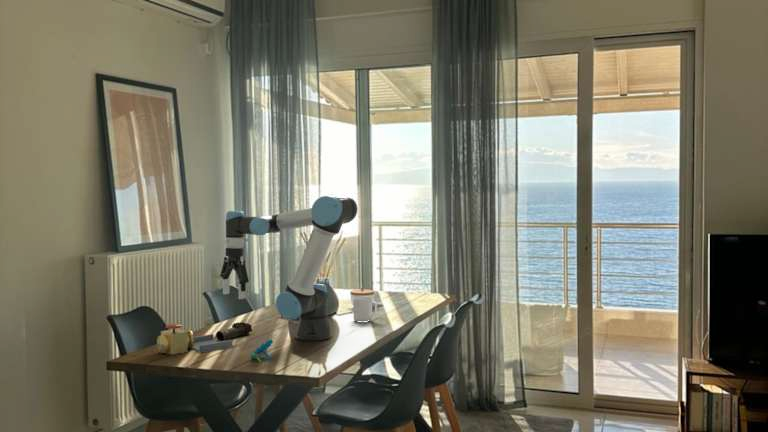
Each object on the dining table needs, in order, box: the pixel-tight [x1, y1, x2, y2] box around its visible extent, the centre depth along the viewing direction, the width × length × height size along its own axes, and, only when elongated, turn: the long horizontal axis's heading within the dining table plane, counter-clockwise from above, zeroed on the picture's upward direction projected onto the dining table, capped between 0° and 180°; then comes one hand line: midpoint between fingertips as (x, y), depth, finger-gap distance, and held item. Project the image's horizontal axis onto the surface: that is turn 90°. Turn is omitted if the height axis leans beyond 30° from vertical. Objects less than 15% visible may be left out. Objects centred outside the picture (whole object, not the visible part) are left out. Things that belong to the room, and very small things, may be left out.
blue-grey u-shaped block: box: [191, 333, 234, 353], centre depth 276 cm, size 17×14×3 cm
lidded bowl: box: [350, 287, 375, 305], centre depth 360 cm, size 13×13×11 cm
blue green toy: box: [250, 339, 274, 363], centre depth 254 cm, size 11×6×10 cm
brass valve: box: [156, 322, 195, 356], centre depth 266 cm, size 8×12×11 cm, turn 134°
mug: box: [352, 296, 378, 322], centre depth 326 cm, size 12×9×11 cm
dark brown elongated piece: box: [215, 321, 254, 342], centre depth 293 cm, size 18×7×6 cm, turn 146°
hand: (233, 296), depth 293 cm, fingers open, 13 cm apart
